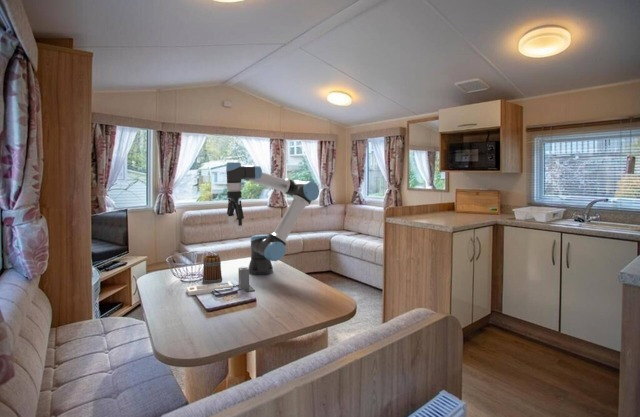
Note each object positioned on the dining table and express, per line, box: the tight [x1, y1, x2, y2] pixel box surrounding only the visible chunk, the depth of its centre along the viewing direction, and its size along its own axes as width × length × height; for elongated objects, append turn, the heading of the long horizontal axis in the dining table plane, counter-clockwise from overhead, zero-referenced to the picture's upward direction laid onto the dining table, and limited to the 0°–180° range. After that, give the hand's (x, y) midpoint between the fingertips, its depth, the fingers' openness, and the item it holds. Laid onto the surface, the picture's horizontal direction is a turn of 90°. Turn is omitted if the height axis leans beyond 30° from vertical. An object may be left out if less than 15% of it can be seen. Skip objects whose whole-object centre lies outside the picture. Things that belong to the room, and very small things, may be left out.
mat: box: [245, 284, 256, 293], centre depth 186 cm, size 9×9×1 cm
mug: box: [201, 253, 223, 285], centre depth 197 cm, size 16×11×15 cm
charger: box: [238, 266, 250, 290], centre depth 185 cm, size 4×4×12 cm
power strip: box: [186, 280, 239, 296], centre depth 183 cm, size 28×7×4 cm, turn 118°
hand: (235, 229), depth 192 cm, fingers open, 13 cm apart
